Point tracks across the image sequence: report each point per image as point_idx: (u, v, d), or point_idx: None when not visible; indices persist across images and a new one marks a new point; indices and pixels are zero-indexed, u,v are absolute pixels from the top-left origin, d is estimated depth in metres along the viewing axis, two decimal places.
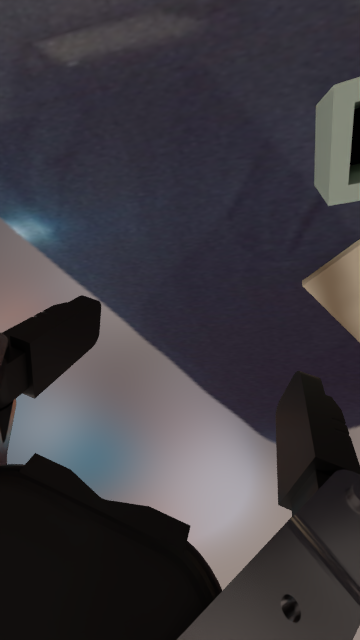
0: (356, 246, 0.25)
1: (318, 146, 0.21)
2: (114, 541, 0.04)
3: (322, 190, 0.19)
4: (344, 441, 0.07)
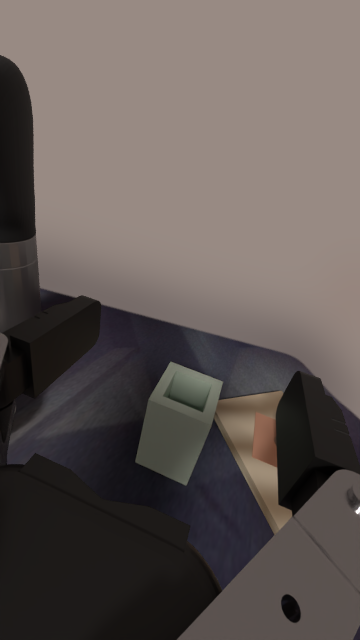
0: (247, 472, 0.29)
1: (163, 457, 0.27)
2: (114, 541, 0.04)
3: (197, 447, 0.25)
4: (344, 441, 0.07)
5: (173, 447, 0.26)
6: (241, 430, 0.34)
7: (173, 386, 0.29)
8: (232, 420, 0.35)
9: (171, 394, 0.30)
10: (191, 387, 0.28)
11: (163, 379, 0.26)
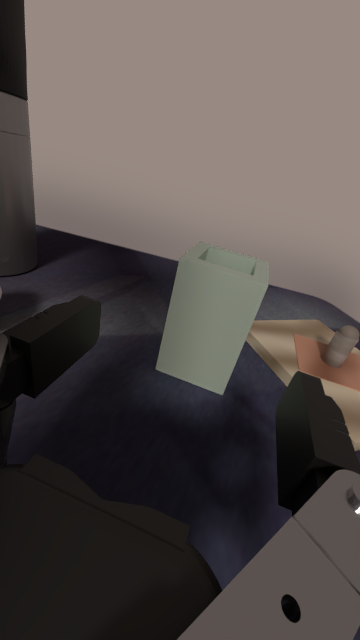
0: None
1: (194, 355, 0.21)
2: (114, 541, 0.04)
3: (243, 328, 0.19)
4: (344, 441, 0.07)
5: (209, 334, 0.20)
6: (280, 347, 0.28)
7: None
8: (268, 338, 0.29)
9: None
10: None
11: (195, 249, 0.20)
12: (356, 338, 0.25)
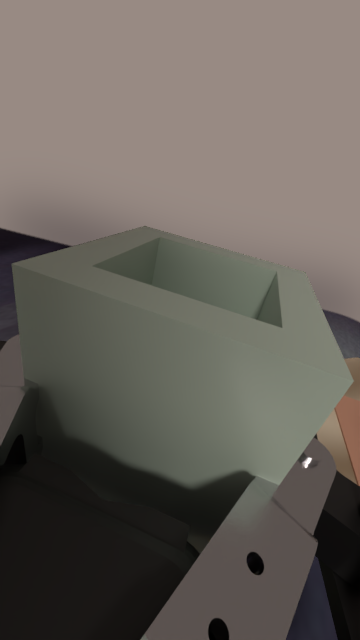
0: None
1: None
2: (114, 541, 0.04)
3: None
4: None
5: (146, 488, 0.07)
6: None
7: None
8: None
9: None
10: (206, 294, 0.09)
11: (111, 240, 0.07)
12: None
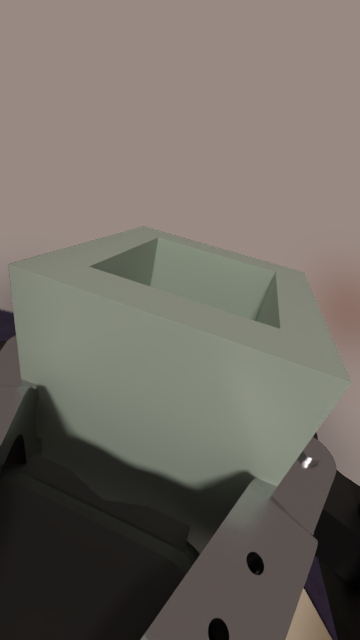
0: None
1: None
2: (114, 541, 0.04)
3: None
4: None
5: (144, 490, 0.07)
6: None
7: None
8: None
9: None
10: (205, 294, 0.09)
11: (109, 241, 0.07)
12: None
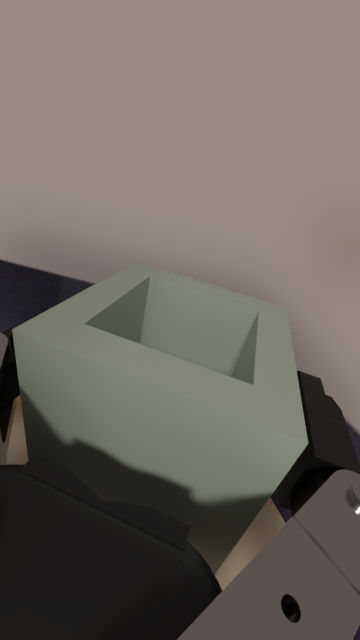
0: None
1: None
2: (114, 541, 0.04)
3: (224, 529, 0.06)
4: (344, 441, 0.07)
5: None
6: None
7: (145, 329, 0.11)
8: None
9: None
10: (195, 327, 0.10)
11: (104, 286, 0.08)
12: None
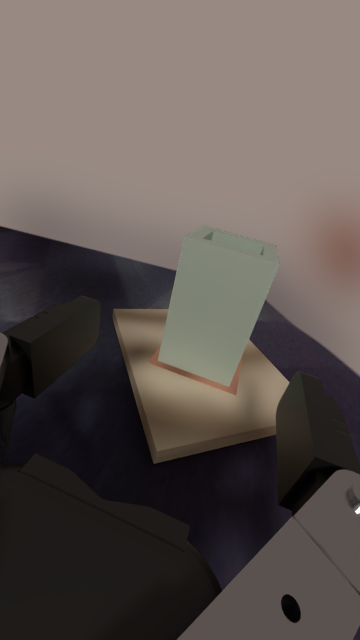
0: (133, 378, 0.19)
1: (199, 343, 0.19)
2: (114, 541, 0.04)
3: (252, 313, 0.17)
4: (344, 441, 0.07)
5: (215, 321, 0.18)
6: (145, 337, 0.24)
7: None
8: (136, 327, 0.25)
9: None
10: None
11: (199, 231, 0.19)
12: None
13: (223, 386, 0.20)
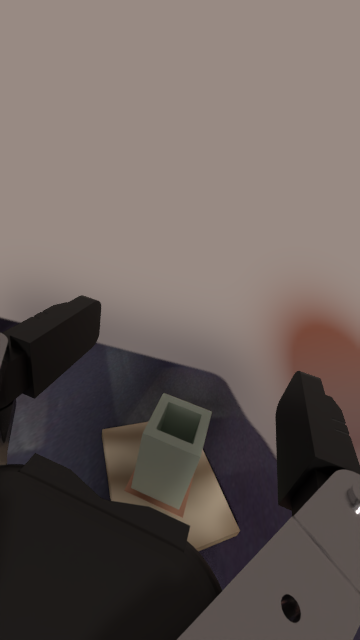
0: None
1: (157, 484, 0.29)
2: (114, 541, 0.04)
3: (188, 476, 0.27)
4: (344, 441, 0.07)
5: (166, 475, 0.28)
6: (124, 461, 0.33)
7: (166, 415, 0.31)
8: (118, 450, 0.34)
9: (164, 422, 0.32)
10: (182, 417, 0.30)
11: (156, 411, 0.29)
12: None
13: (174, 509, 0.30)
